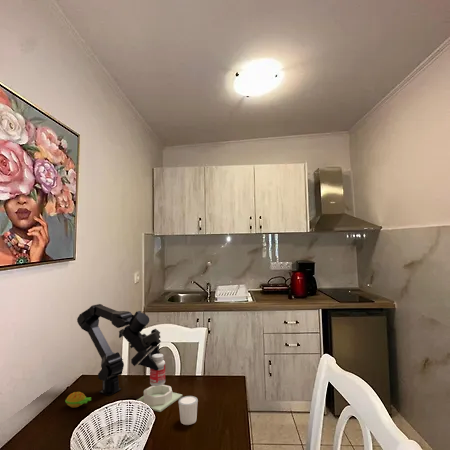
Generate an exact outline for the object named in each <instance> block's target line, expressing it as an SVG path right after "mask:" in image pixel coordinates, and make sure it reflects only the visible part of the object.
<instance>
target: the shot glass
mask: <svg viewBox="0 0 450 450" xmlns="http://www.w3.org/2000/svg"><path fill="white" fill-rule="evenodd" d="M198 402H199V400H198V397H196V396H193V395H186V396H182V397H181V398H179V399H178V408H179V410H178V411H179V419H180V424H183V425H185V426H189V425H193V424H195V423H196V422H197V420H198V419H197V416H198Z"/></svg>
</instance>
